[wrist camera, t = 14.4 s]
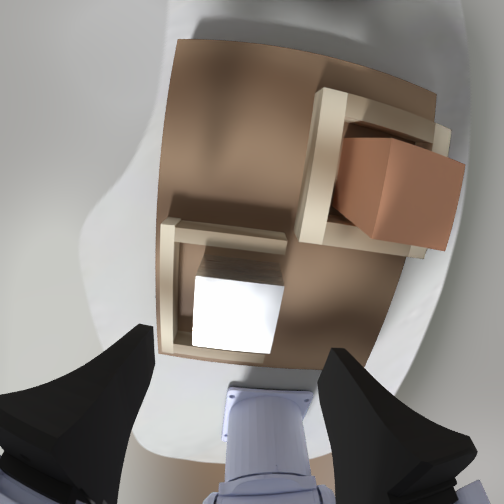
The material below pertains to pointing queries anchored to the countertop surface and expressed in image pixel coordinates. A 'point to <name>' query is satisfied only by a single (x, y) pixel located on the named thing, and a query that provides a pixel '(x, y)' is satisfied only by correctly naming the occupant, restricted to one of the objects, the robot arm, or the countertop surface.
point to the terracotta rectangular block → (398, 191)
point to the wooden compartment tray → (264, 197)
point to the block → (236, 303)
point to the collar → (326, 159)
